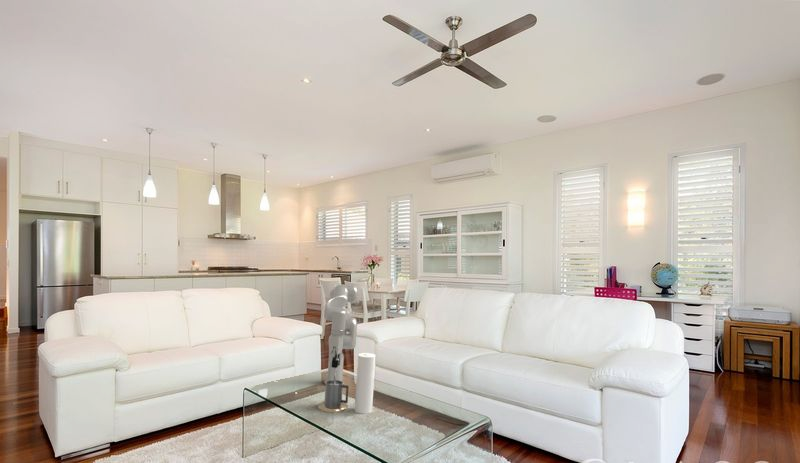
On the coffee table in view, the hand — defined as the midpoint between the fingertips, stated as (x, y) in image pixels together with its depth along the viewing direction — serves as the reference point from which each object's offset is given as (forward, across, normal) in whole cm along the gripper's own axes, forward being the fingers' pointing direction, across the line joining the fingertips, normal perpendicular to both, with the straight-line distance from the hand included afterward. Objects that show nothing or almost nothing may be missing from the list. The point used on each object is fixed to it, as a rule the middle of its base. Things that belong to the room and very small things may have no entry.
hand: (335, 366), depth 230 cm
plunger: (+11, 0, 0) cm, 11 cm away
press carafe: (+22, 0, 0) cm, 22 cm away
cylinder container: (+22, 0, +17) cm, 28 cm away
